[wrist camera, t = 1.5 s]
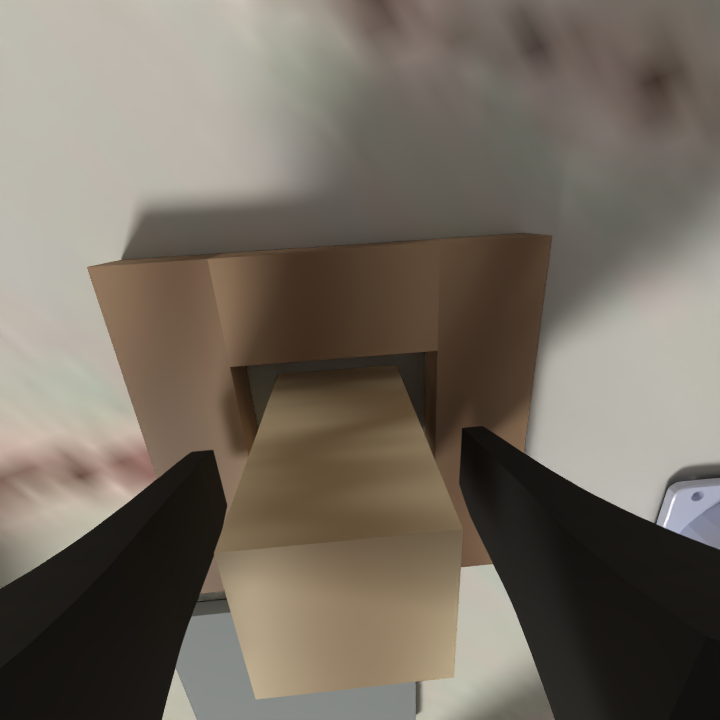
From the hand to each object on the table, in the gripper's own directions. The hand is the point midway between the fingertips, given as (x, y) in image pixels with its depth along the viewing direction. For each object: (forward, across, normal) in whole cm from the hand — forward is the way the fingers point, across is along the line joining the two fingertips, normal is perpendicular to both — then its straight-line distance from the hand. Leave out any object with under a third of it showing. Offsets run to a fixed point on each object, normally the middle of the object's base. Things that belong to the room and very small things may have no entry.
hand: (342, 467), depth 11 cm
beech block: (+3, 0, 0) cm, 3 cm away
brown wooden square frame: (+3, 0, 0) cm, 3 cm away
